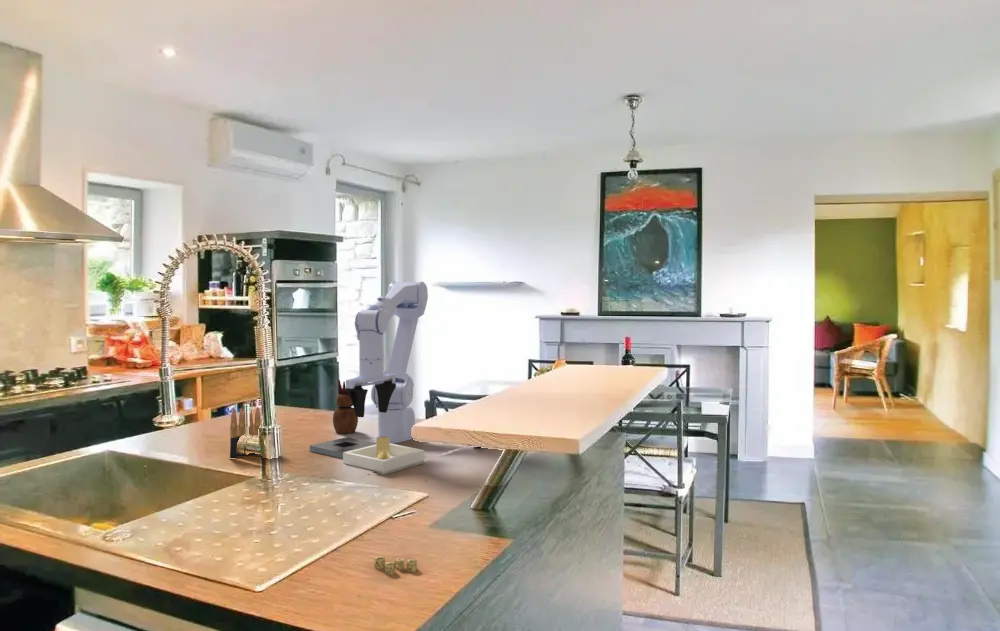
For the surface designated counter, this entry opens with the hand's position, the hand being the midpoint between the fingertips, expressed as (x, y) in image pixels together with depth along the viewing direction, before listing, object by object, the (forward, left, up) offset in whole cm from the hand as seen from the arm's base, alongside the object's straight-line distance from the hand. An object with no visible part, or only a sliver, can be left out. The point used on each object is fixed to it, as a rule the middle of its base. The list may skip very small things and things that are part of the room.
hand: (371, 414), depth 174 cm
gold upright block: (+6, +10, -9) cm, 15 cm away
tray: (+6, +11, -9) cm, 15 cm away
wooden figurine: (-10, -21, -10) cm, 25 cm away
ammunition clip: (+20, -19, -10) cm, 29 cm away
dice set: (+47, +55, -10) cm, 73 cm away
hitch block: (+4, -5, -9) cm, 11 cm away
